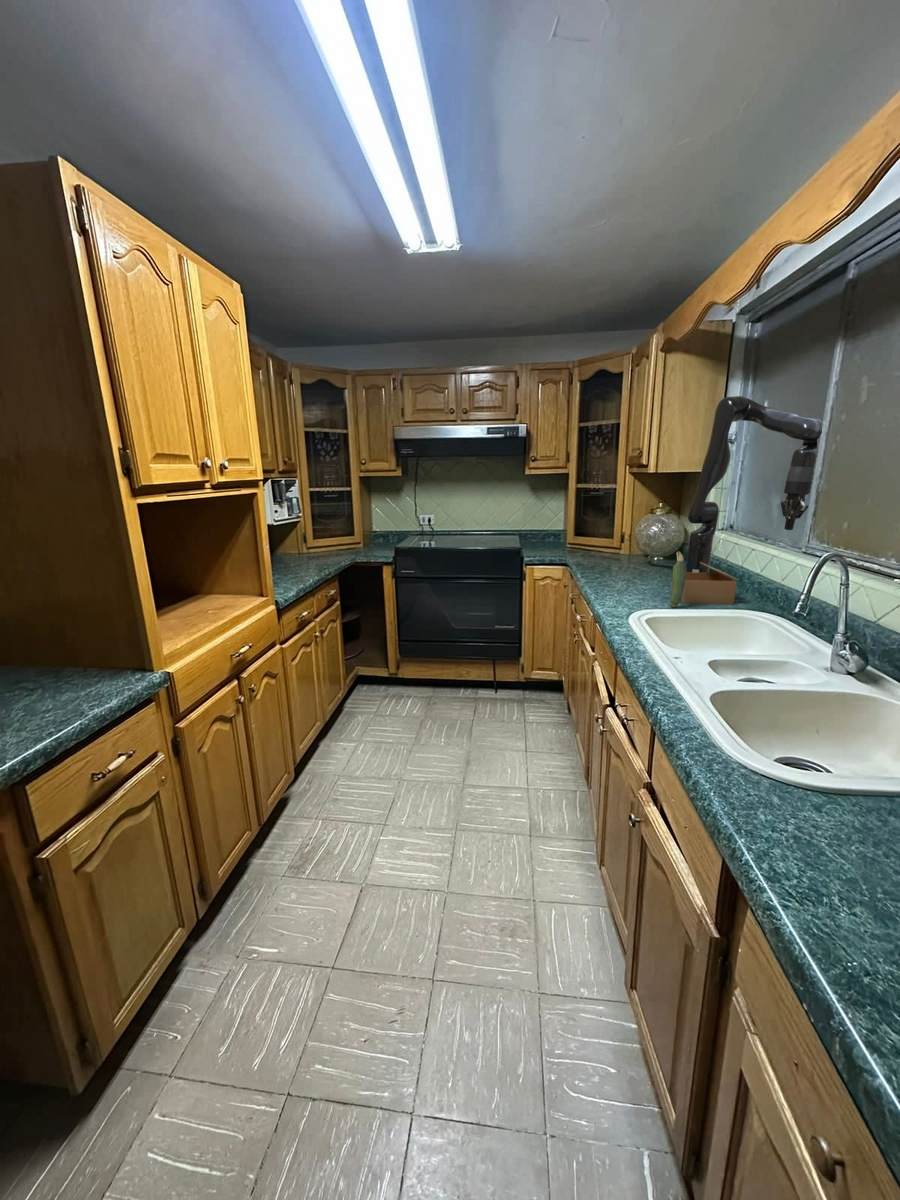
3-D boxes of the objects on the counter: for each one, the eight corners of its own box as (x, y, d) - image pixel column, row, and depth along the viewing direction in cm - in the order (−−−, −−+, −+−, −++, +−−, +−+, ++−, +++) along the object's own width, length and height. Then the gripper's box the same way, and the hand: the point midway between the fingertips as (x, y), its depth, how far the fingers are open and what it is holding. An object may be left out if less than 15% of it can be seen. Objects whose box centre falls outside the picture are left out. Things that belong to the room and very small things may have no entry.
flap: (699, 562, 184) (700, 561, 184) (719, 571, 184) (720, 570, 184) (714, 570, 170) (715, 569, 170) (736, 579, 170) (737, 578, 170)
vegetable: (679, 606, 171) (686, 550, 166) (684, 609, 167) (691, 552, 161) (666, 606, 171) (672, 550, 166) (671, 609, 167) (677, 552, 162)
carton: (670, 593, 189) (673, 572, 187) (717, 594, 186) (719, 572, 184) (683, 603, 174) (685, 580, 172) (733, 604, 172) (736, 581, 170)
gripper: (777, 478, 174) (767, 526, 179) (798, 481, 161) (787, 532, 167) (799, 479, 173) (789, 527, 178) (822, 481, 161) (810, 533, 166)
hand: (788, 529), depth 173 cm, fingers closed
